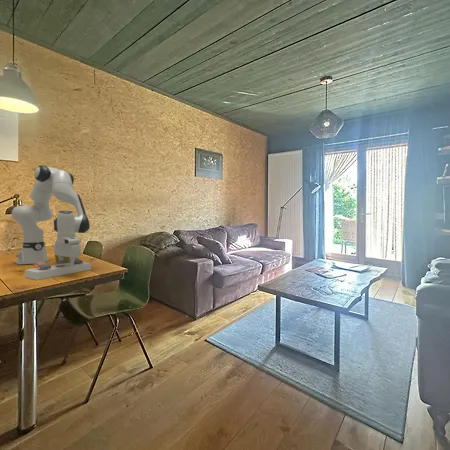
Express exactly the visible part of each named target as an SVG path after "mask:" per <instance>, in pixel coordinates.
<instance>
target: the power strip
mask: <svg viewBox="0 0 450 450" xmlns="http://www.w3.org/2000/svg"><path fill="white" fill-rule="evenodd" d="M50 266H51V268H49V269H41V268H39V267H36V268H35V267H34V268H28V269H24V278H26V279H31V280H35V281H39V280H45V279H50V278H56V277H59V276H65V275H70V274H75V273H80V272H85V271H91V270H92V263H91V262H88V261H87V262H86V261H83V263H79V264H75V263H74V265H70V263H65V264H59V265H53V264H52V265H50Z"/></svg>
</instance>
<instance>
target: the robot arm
mask: <svg viewBox="0 0 450 450" xmlns="http://www.w3.org/2000/svg"><path fill="white" fill-rule="evenodd" d="M34 178H35V180H36V181H35V183H34V185H33V187H32V190H31V193H30V198H31V200H32V201H33V205H19V206H15V207H13V209H12V210H11V217H12V218H13V220H14V221H16V222H17V223H18V224H19V225H20V227H21V230H22V231H23V232H22V233H23V235H22V236H23V242H22V248H21V250H20V251H19V252H18V253H16V258H17V259H14V260H13V263H14V264H17V265H35V263H37V262H45V263H47V262H48V261H50V258H48V252H47V251H48V250H47V248H45V246H46V245H45V244H46V243H45V241H44V237H45V236H44V230H43V229H42V228H41V227H39V225H38V223H37V222H39V223H40V222H46V221H49V220H51V219H52V217H53V211H52V209H51V207H50V202H51V201H50V200H51V198H52V195H53V197H54V198H56V199H57V200H58V201H59V202H64V203H67V204H69V205H72V206H74V207H75V210H76V213H77V215H78V216H75V214H74V211H72V210H60V211H58V212H57V216H56V218H54V220H52V221H53V230H54V231H55V232H57V233H56V240H55V243H54V246H53V253H54V256H55V255H59V260H60V261H65V260H64V259H63V257H64V256H65V257H70V259H71V261H70V262H69V263H70V265H74V261H75V258H80V256H81V251H82V250H81V243H82V241H81V238H79V237H78V236H76V234H77V233H78V234H85V233H87V231H89V230H90V229H91V227H90V226H91V223H90V220H89V218H88V216H87V213H86V210H85V207H84V204H83V202H82V201H83V200H82V198H81V196H80V194H78V193H77V192H76V191H75V190H74V186H73V184H74V182H75V178H74V176H73V174H72V173H70V172H67V171H65V170H62V169H59V168H55V167H51V166H47V165H43V164H41V165H38V166H37V167H36V168H35V171H34ZM61 264H63V263H61Z"/></svg>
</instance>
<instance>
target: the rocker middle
mask: <svg viewBox="0 0 450 450" xmlns="http://www.w3.org/2000/svg"><path fill="white" fill-rule="evenodd" d="M67 262H68V261H67V260H66V261H60V262H56V261H55V262H52V266H53V265H58V264H61V263H67Z"/></svg>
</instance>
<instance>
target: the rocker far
mask: <svg viewBox="0 0 450 450" xmlns="http://www.w3.org/2000/svg"><path fill="white" fill-rule="evenodd" d="M69 260H70V261H71V259H70V258H69ZM83 262H84V260H81V259H80V258H79V257H76V258H75V261H74V263H75V264H79V263H83Z"/></svg>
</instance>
